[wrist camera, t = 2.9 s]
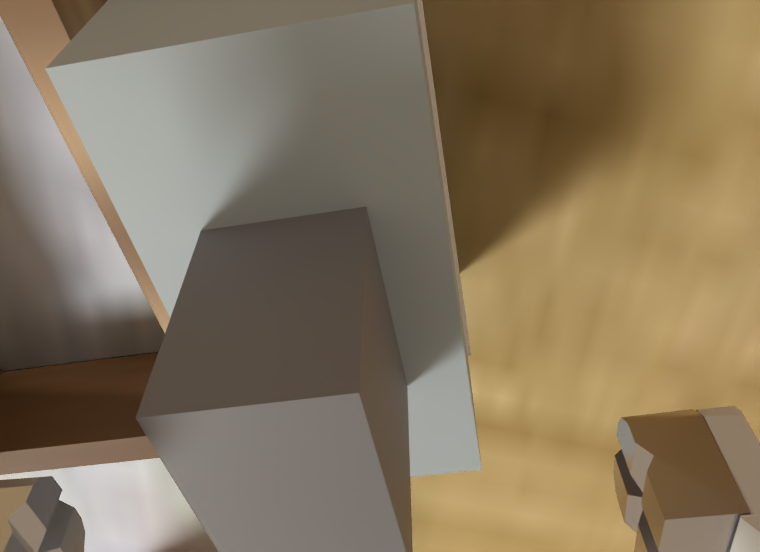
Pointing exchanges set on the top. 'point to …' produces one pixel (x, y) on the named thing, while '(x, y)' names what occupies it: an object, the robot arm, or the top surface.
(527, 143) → the top surface
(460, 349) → the cabinet block
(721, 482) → the robot arm
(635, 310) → the top surface
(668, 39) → the top surface
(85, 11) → the brown wooden frame
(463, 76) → the top surface
